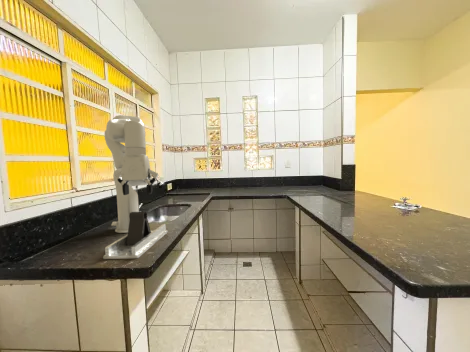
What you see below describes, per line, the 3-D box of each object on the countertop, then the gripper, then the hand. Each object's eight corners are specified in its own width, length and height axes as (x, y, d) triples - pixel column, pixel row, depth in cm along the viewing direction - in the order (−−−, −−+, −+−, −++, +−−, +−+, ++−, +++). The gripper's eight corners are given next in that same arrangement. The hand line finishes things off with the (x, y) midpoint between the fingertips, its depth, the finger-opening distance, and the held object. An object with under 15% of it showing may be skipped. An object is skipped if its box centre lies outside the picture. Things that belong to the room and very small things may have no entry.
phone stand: (140, 245, 78) (139, 214, 78) (126, 245, 79) (124, 214, 78) (152, 237, 87) (150, 209, 87) (138, 237, 88) (137, 209, 87)
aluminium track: (103, 259, 69) (102, 247, 69) (143, 232, 97) (142, 224, 97) (137, 258, 69) (137, 246, 69) (167, 232, 97) (167, 223, 97)
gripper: (108, 152, 78) (111, 196, 79) (152, 151, 78) (154, 195, 79) (120, 153, 86) (122, 193, 87) (160, 152, 85) (162, 192, 86)
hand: (137, 194), depth 83 cm, fingers open, 9 cm apart
